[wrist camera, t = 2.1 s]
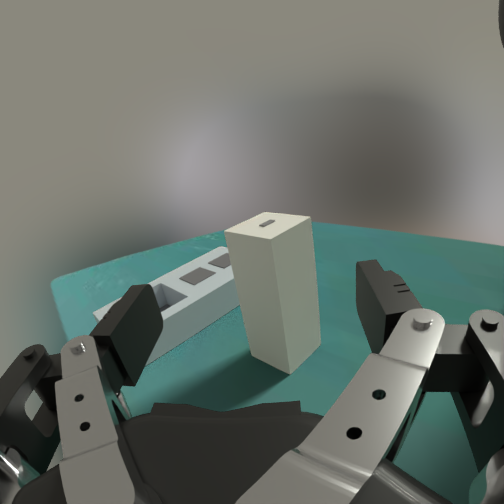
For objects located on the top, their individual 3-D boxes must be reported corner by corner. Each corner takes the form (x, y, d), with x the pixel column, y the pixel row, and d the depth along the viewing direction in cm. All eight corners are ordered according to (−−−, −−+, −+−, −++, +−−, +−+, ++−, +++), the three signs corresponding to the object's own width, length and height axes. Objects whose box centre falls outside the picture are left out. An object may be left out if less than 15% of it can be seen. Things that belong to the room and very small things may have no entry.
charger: (283, 329, 30) (264, 210, 25) (320, 344, 27) (310, 215, 22) (251, 355, 27) (223, 229, 23) (290, 374, 24) (270, 237, 20)
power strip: (225, 268, 45) (219, 242, 44) (272, 282, 39) (267, 252, 38) (103, 337, 33) (90, 308, 32) (135, 372, 27) (119, 339, 25)
